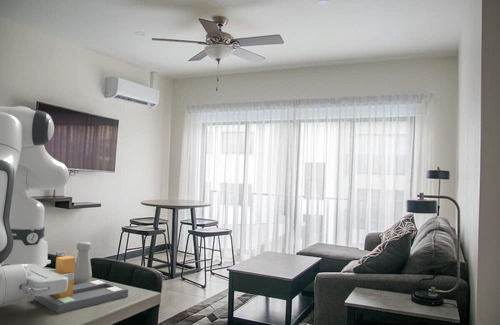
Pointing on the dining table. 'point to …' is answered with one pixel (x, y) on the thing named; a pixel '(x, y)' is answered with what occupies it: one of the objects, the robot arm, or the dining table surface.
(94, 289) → the panel
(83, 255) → the salt shaker
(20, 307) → the dining table surface
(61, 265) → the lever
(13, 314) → the dining table surface
